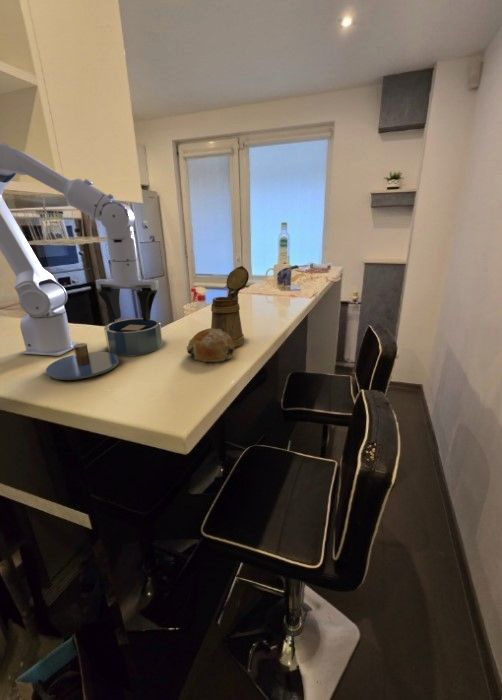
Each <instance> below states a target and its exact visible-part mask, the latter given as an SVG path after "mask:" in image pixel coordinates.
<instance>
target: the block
mask: <svg viewBox="0 0 502 700" xmlns="http://www.w3.org/2000/svg"><path fill="white" fill-rule="evenodd" d="M141 330H146V325H128V326H126V327H125V328H123V329H121V330H120V331H121V332H134V331H141Z"/></svg>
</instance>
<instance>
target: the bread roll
mask: <svg viewBox="0 0 502 700" xmlns="http://www.w3.org/2000/svg"><path fill="white" fill-rule="evenodd" d="M187 344H188V345H187V346H186V350H187V351H186V352H187V354H189V355H190V357H191V358H192V359H193V360H195V361H197V362H201V363H219V362H224V361H226V360H230V359H232V358H233V354H234V351H235V347H234V343H233V340H232V338H231V337H230V336H229V334H227V333H226V332H224V331H222V330H221V329H214V328H211V327H210V328H206V329H204V330H200V331H198V332H197V333H196V334H195V335H194V336H192V337H191V339H190V340H189V341H188V343H187Z"/></svg>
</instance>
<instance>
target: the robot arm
mask: <svg viewBox="0 0 502 700" xmlns="http://www.w3.org/2000/svg"><path fill="white" fill-rule="evenodd" d="M17 175H20V176H29V177H30V178H32V179H34V180H36V181H38V182H40V183H42V184H44V185H45V186H47V187H49V188H50V189H53V190H55V191H57V192H59V193H61V194H62V195H63V196H64V198H65V200H66V202H67V204H68V205H69V206H71V207H72V208H74V209H76V210H78V211H80V212H82V213H83V214H85V215H87V216H89V217H90V218H93V219H94V220H96V221H98V222H100V224H101V225H102V226H103V227H104V228H105V234H106V241H107V247H108V249H107V250H108V254H109V262H110V269H111V275H112V278H100V279H96V280H95V285H96V289H97V290H99V291H98V295H99V296H100V298H101V299H102V300H103V301H104V303H105V304H106V306H107V308H108V310H109V312H110V315H111V317H112V319H113V320H114V321H115V320H117V321H118V320H119V319H121V318H122V312H121V311H122V310H121V305H120V293H121V290H139V291H136V295H137V297H138V300H139V303H140V306H141V307H140V308H141V315H142V318H143V320H144V321H147V320H149V319H151V314H152V309H153V308H152V306H153V303H154V300H155V298H156V296H157V293H158V290H159V289H160V284H159V279H156V280H155V279H144V278H140V271H139V262H138V255H137V246H136V239H135V234H134V227H133V226H134V224H135V220H136V218H135V214H134V213H135V212H134V211H133V210H132V208H131V207H130V206H128V205H127V204H126V202H123V201H116V200H115V199H116V196H115V195H114V194H111V193H109V194H107V193H105V192H103V191H102V190H100V189H99V188H97V187H95V186H94V182H92V181H91V180H89V179H87V178H85V179H84V180H83V179H82V178H76V179H69V178H67V177H66V176H64V175H63V174H61V173H60V172H58V171H56V170H55V169H53V168H51V167H50V166H48V165H47V164H45V163H43V162H42V161H40V160H39V159H37V158H35V157H34V156H32V155H31V154H29V153H27V152H24V151H22V150H19V149H17V148H15V147H12V146H11V145H9V144H6V143H4V142H0V252H1V254H2V255H3V257H4V259H5V260H6V262H7V264H8V266H9V267H10V268H11V270H12V272H13V274H14V275H15V276H16V279H15V282H14V285H13V286H14V289H15V291H16V294H17V295H18V303H19V305H20V307H21V309H22V310H23V311H24V313H26V314H24V315H23V316H22V318H21V319H20V324H19V326H20V331H21V335H22V339H23V343H24V346H25V350H24V351H23V354H25V355H38V356H39V355H41V356H54V357H55V356H56V357H60V356H62V355H65V354H66V353H67V352H70V351H71V350H74V345H76V344H81V343H82V342H74V341H73V339H72V335H71V334H72V333H71V331H70V324H69V321H68V320H69V319H68V315H67V312H66V311H67V310H66V308H65V304H66V303H67V301H68V293H67V290H66V289H65V287H64V286H63V285H62V284H60V283H59V282H58V281H57V280H56V279H55V277H54V275H53V274H51V273H50V272H49V271H48V270H46V269H45V268H44V267H43V266H42V264H41V262H40V261H39V259H38V258H37V256H36V254H35V252H34V251H33V249H32V247H31V246H30V244H29V242H28V240H27V238H26V237H25V235H24V233H23V231H22V229H21V228H20V226H19V224H18V223H17V221H16V219H15V217H14V215H13V214H12V212H11V211H10V209H9V207H8V206H7V204H6V203H7V202H6V201H5V200H4V198H3V193H4V191H5V188H6V187H7V186H8V185H9V184H10V183H11V181H12V180H14V179H15V177H16V176H17Z"/></svg>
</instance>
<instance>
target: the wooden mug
mask: <svg viewBox="0 0 502 700" xmlns="http://www.w3.org/2000/svg"><path fill="white" fill-rule="evenodd" d="M249 278H250V275H249V271H248V270H247V268H245V266H243V265H241V266H238V267H236V268H234V269H233V270H232V271H230V272H229V273H228V276H227V277H226V281H225V283H226V287H227V289H228V294H227V296H216V297H213V298H212V303H211V306H210V307H211V309H210V310H211V322H210V323H211V325H210V328H214V329H221V330H222V331H224V332H226V333H227V334H229V336H230V337H231V338H232V340H233V343H234V348H235V347H240V346H242V345H244V343H245V335H244V333H243V328H242V320H241V313H240V309H241V307H240V303H239V293H240V291H242V290H243V289H244V288H245V287H246V286H247V284H248V281H249Z"/></svg>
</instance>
